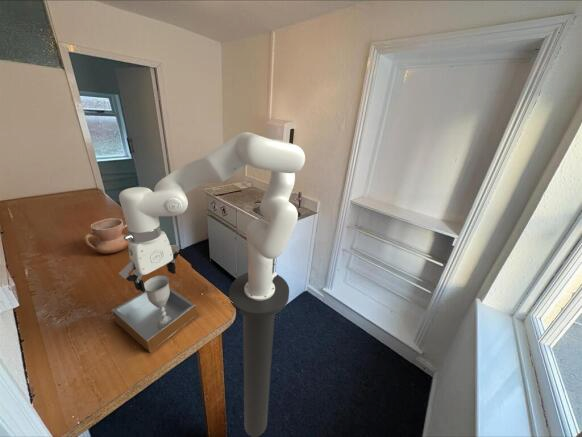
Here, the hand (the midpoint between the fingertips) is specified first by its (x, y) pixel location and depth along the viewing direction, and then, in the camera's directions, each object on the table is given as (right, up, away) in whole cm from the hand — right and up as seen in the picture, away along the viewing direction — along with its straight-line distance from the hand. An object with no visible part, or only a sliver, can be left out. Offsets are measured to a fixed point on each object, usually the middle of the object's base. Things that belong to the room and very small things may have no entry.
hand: (157, 280), depth 71 cm
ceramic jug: (-47, +4, +44) cm, 65 cm away
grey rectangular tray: (-6, -16, +10) cm, 20 cm away
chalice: (-2, -17, +8) cm, 19 cm away
